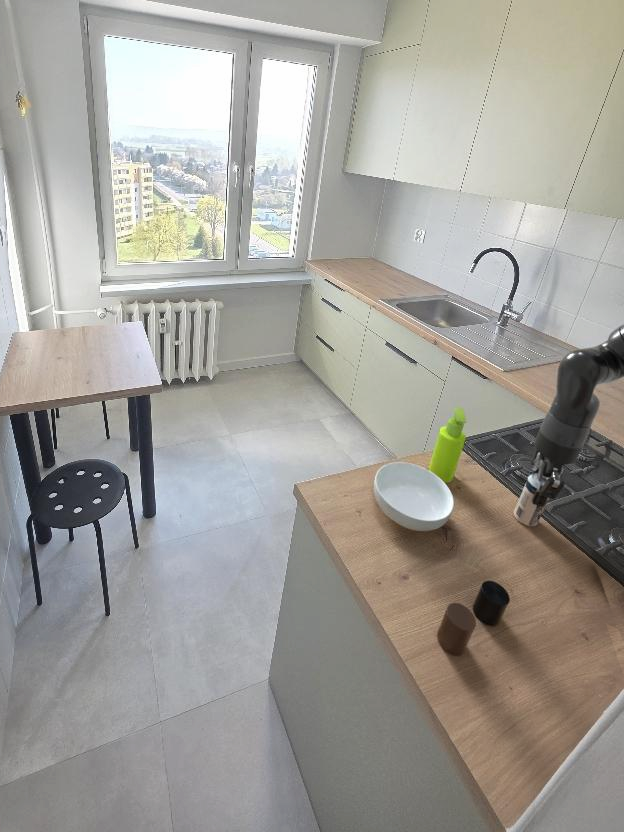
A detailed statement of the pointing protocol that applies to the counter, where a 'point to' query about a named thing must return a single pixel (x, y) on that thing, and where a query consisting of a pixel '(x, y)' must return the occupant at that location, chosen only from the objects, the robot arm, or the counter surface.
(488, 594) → the black post
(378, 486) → the cereal bowl
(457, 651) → the walnut post
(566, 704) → the counter surface
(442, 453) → the soap dispenser
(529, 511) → the beer can
